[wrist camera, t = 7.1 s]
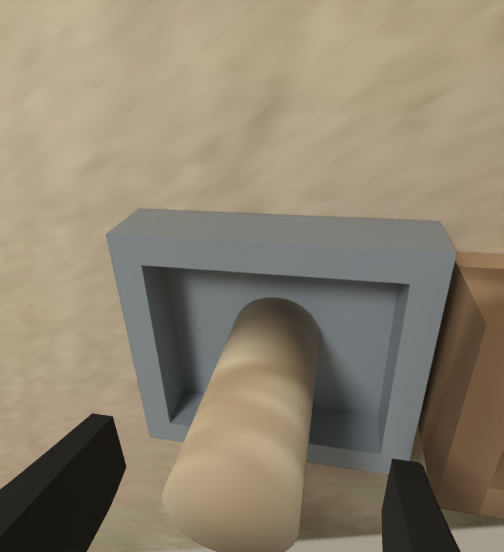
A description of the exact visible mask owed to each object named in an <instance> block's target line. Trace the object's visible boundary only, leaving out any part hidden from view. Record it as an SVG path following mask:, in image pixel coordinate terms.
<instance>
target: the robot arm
mask: <svg viewBox="0 0 504 552" xmlns="http://www.w3.org/2000/svg"><path fill="white" fill-rule="evenodd" d="M125 469H126V464H125V460H124V456H123V452H122V449H121V445H120V441H119V438H118V434H117V430H116V427H115V423H114V419H113V416H106V415H99V414H93V413H92V414H91V415H90V416H89V417H88V418H86V419H85V420H84V421H83V422H82V423H80V424H79V425H78V426H77V427H76V428H74V429H73V430H72V431H71V432H70V433H68V434H67V435H66V436H65V437H64V438H62V439H61V440H60V441H59V442H58V443H57V444H55V445H54V446H53V447H52V448H51V449H49V450H48V451H47V452H46V453H45V454H43V455H42V456H41V457H40V458H39V459H37V460H36V461H35V462H34V463H33V464H31V465H30V466H29V467H28V468H26V469H25V470H24V471H23V472H22V473H20V474H19V475H18V476H17V477H15V478H14V479H13V480H12V481H10V482H9V483H8V484H7V485H5V486H4V487H3V488H1V489H0V552H87V550H88V548H89V546H90V544H91V542H92V541H93V539H94V537H95V535H96V533H97V531H98V529H99V527H100V526H101V524H102V522H103V520H104V518H105V516H106V514H107V512H108V510H109V508H110V506H111V504H112V502H113V499H114V497H115V494H116V492H117V490H118V487H119V485H120V482H121V479H122V477H123V474H124V472H125ZM382 545H383V552H460V550H459V548H458V546H457V544H456V542H455V540H454V537H453V535H452V533H451V531H450V529H449V527H448V525H447V522H446V520H445V518H444V516H443V514H442V511H441V509H440V507H439V505H438V502H437V500H436V498H435V495H434V493H433V490H432V488H431V485H430V483H429V480H428V478H427V475H426V472H425V470H424V467H423V466H422V465H421V464H420V463H419V462H413V461H406V460H399V459H393V458H392V461H391V466H390V471H389V476H388V481H387V486H386V491H385V497H384V502H383V507H382Z"/></svg>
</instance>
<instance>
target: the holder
mask: <svg viewBox="0 0 504 552" xmlns="http://www.w3.org/2000/svg"><path fill="white" fill-rule="evenodd" d="M456 253H457V254H456V258H455V262H454V267H453V271H452V276H451V280H450V285H449V289H448V293H447V298H446V302H445V307H444V311H443V315H442V320H441V324H440V329H439V333H438V338H437V342H436V346H435V351H434V355H433V360H432V364H431V369H430V373H429V377H428V382H427V386H426V391H425V395H424V399H423V404H422V408H421V413H420V417H419V422H418V424H419V430H420V435H421V441H422V447H423V452H424V458H425V463H426V469H427V474H428V480H429V483H430V485H431V488H432V490H433V493H434V495H435V498H436V500H437V502H438V505H439V507H440V509H446V510H452V511H458V512H464V513H470V514H476V515H482V516H488V517H493V518H499V519H504V255H499V254H481V253H462V252H456Z"/></svg>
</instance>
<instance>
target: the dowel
mask: <svg viewBox="0 0 504 552" xmlns="http://www.w3.org/2000/svg"><path fill="white" fill-rule="evenodd" d="M319 341H320V332H319V328H318V325H317V323H316V321H315V319H314V318H313V316H312V315H311V314H310V313H309V312H308V311H307V310H306V309H305V308H303V307H302V306H300V305H299V304H297V303H295V302H293V301H290V300H287V299H284V298H278V297H267V298H261V299H257V300H254V301H252V302H250V303H249V304H247V305H246V306H245V307H244V308H243V309H242V310H241V311H240V312H239V314H238V316H237V318H236V320H235V323H234V325H233V327H232V330H231V332H230V334H229V337H228V339H227V342H226V344H225V346H224V349H223V351H222V353H221V356H220V358H219V360H218V363H217V365H216V368H215V370H214V372H213V375H212V377H211V379H210V382H209V384H208V386H207V389H206V391H205V394H204V396H203V398H202V401H201V403H200V405H199V408H198V410H197V412H196V415H195V417H194V419H193V422H192V424H191V427H190V429H189V431H188V434H187V436H186V438H185V441H184V443H183V445H182V448H181V450H180V453H179V455H178V457H177V460H176V462H175V464H174V467H173V469H172V471H171V474H170V476H169V479H168V481H167V483H166V486H165V488H164V491H163V494H162V503H163V507H164V510H165V512H166V514H167V516H168V517H169V519H170V520H171V522H172V523H173V524H174V525H175V526H176V527H177V528H178V529H179V530H180V531H181V532H182V533H184V534H185V535H186V536H188V537H189V538H191V539H192V540H194V541H195V542H197V543H199V544H201V545H203V546H205V547H207V548H209V549H212V550H214V551H217V552H285V551H286V550H288V549H289V548H290V547H291V546H293V544H294V543H295V542H296V540H297V537H298V533H299V525H300V515H301V506H302V497H303V488H304V479H305V470H306V460H307V451H308V442H309V433H310V424H311V415H312V405H313V396H314V387H315V378H316V369H317V360H318V350H319Z"/></svg>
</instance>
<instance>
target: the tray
mask: <svg viewBox="0 0 504 552" xmlns="http://www.w3.org/2000/svg"><path fill="white" fill-rule="evenodd" d="M106 237H107V242H108V246H109V251H110V256H111V260H112V265H113V269H114V274H115V279H116V283H117V288H118V292H119V297H120V302H121V306H122V311H123V315H124V320H125V325H126V329H127V334H128V338H129V343H130V348H131V352H132V357H133V362H134V366H135V371H136V375H137V380H138V385H139V389H140V394H141V398H142V403H143V408H144V412H145V417H146V421H147V426H148V431H149V435H150V437H152V438H159V439H165V440H171V441H178V442H184V441H185V438H186V436H187V434H188V431H189V429H190V427H191V424H192V422H193V419H194V417H195V415H196V412H197V410H198V408H199V405H200V403H201V401H202V398H203V396H204V394H205V391H206V389H207V386H208V384H209V382H210V379H211V377H212V375H213V372H214V370H215V368H216V365H217V363H218V360H219V358H220V356H221V353H222V351H223V349H224V346H225V344H226V342H227V339H228V337H229V334H230V332H231V330H232V327H233V325H234V323H235V320H236V318H237V316H238V314H239V312H240V311H241V310H242V309H243V308H244V307H245V306H246V305H247V304H249V303H250V302H252V301H254V300H257V299H261V298H267V297H278V298H284V299H287V300H290V301H293V302H295V303H297V304H299V305H300V306H302V307H303V308H305V309H306V310H307V311H308V312H309V313H310V314H311V315H312V316H313V318H314V319H315V321H316V323H317V325H318V328H319V332H320V341H319V350H318V360H317V369H316V378H315V387H314V396H313V405H312V415H311V424H310V433H309V442H308V451H307V460H306V462H312V463H318V464H325V465H331V466H338V467H344V468H350V469H357V470H363V471H370V472H376V473H382V474H389V471H390V466H391V461H392V458H393V459H399V460H406V461H410V457H411V453H412V448H413V444H414V439H415V435H416V430H417V426H418V422H419V417H420V413H421V408H422V404H423V399H424V395H425V391H426V386H427V382H428V377H429V373H430V369H431V364H432V360H433V355H434V351H435V346H436V342H437V338H438V333H439V329H440V324H441V320H442V315H443V311H444V307H445V302H446V298H447V293H448V289H449V285H450V280H451V276H452V271H453V267H454V262H455V258H456V254H457V253H456V252H455V250H454V248H453V246H452V244H451V242H450V240H449V238H448V236H447V234H446V232H445V230H444V228H443V226H442V224H441V222H440V221H417V220H393V219H370V218H346V217H322V216H298V215H274V214H250V213H226V212H202V211H178V210H154V209H138V210H137V211H135V212H134V213H133V214H131V215H130V216H129V217H127V218H126V219H125V220H124V221H122V222H121V223H120V224H118V225H117V226H116V227H114V228H113V229H112V230H110V231H109V232H108V233H107V234H106Z"/></svg>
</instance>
